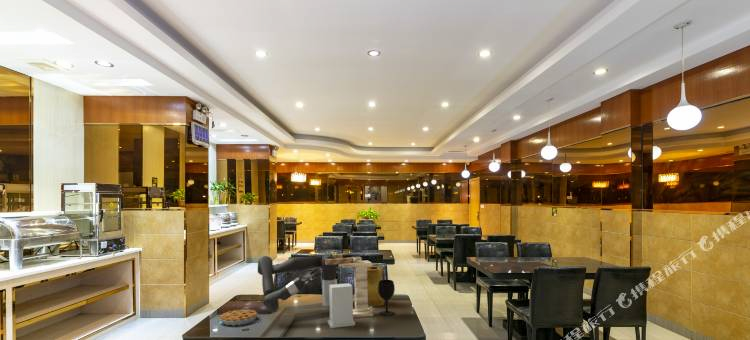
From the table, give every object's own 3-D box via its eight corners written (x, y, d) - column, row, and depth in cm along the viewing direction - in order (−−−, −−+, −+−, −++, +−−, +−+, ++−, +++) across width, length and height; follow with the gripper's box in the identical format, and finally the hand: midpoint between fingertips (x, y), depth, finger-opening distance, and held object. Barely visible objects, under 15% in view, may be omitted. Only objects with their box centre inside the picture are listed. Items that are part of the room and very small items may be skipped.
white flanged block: (327, 322, 242) (327, 284, 243) (351, 320, 246) (350, 282, 247) (331, 328, 232) (330, 288, 233) (355, 325, 236) (354, 286, 237)
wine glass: (398, 313, 258) (397, 280, 259) (387, 317, 250) (386, 283, 251) (386, 310, 265) (385, 278, 266) (375, 314, 257) (374, 281, 258)
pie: (246, 313, 265) (246, 305, 265) (264, 320, 249) (264, 312, 249) (213, 321, 249) (213, 313, 250) (229, 329, 234) (229, 320, 234)
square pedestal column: (340, 313, 260) (339, 261, 262) (368, 310, 265) (367, 260, 267) (344, 318, 249) (343, 265, 250) (373, 315, 254) (372, 263, 255)
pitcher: (388, 306, 272) (385, 267, 274) (360, 308, 272) (357, 269, 274) (388, 300, 289) (385, 264, 291) (361, 302, 289) (359, 266, 291)
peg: (326, 265, 251) (326, 260, 251) (325, 263, 256) (324, 258, 256) (361, 262, 257) (361, 257, 257) (359, 261, 262) (359, 256, 262)
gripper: (293, 283, 240) (317, 267, 245) (290, 278, 254) (313, 263, 258) (299, 294, 241) (323, 278, 245) (297, 289, 254) (319, 273, 259)
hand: (318, 270), depth 252 cm, fingers open, 8 cm apart
